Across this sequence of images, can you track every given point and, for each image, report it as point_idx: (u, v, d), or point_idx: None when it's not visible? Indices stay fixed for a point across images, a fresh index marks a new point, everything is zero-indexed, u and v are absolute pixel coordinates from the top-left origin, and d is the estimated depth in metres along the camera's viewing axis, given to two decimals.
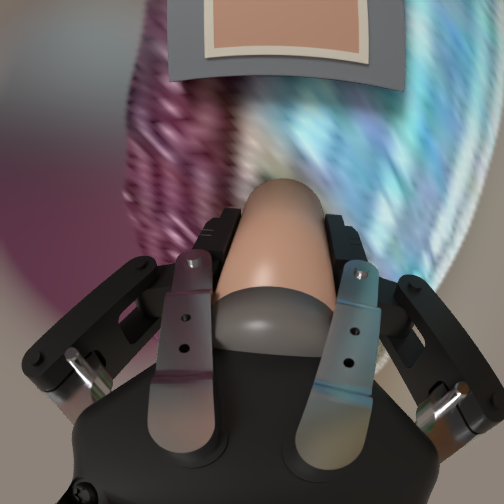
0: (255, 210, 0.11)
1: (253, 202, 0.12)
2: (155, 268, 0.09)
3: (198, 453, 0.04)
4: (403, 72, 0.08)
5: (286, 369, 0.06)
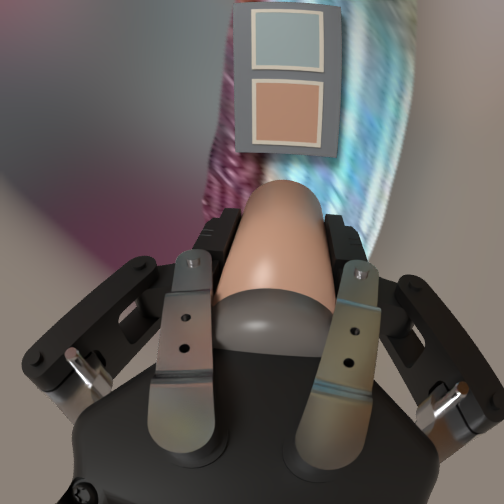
0: (255, 211, 0.11)
1: (253, 203, 0.12)
2: (155, 268, 0.09)
3: (198, 453, 0.04)
4: (336, 149, 0.24)
5: (286, 369, 0.06)
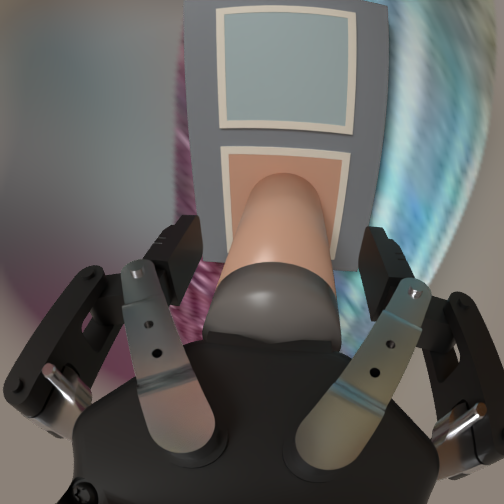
0: (258, 200, 0.12)
1: (256, 194, 0.13)
2: (103, 274, 0.08)
3: (198, 453, 0.04)
4: None
5: (286, 369, 0.06)
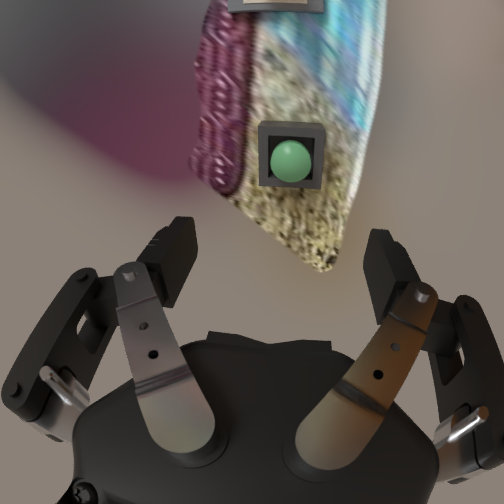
0: None
1: None
2: (96, 276, 0.08)
3: (198, 453, 0.04)
4: (322, 5, 0.18)
5: (286, 369, 0.06)
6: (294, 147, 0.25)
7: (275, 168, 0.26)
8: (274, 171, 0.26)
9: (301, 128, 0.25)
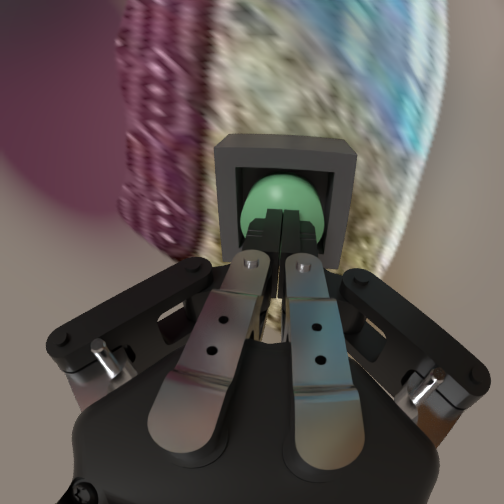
0: None
1: None
2: (209, 274, 0.08)
3: (198, 453, 0.04)
4: None
5: (286, 369, 0.06)
6: (291, 191, 0.12)
7: None
8: None
9: (306, 151, 0.12)
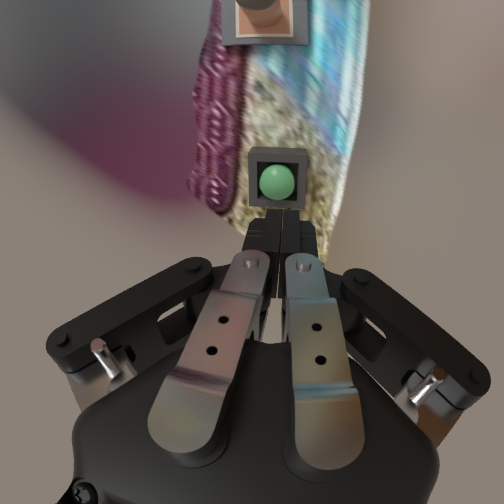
0: None
1: None
2: (209, 274, 0.08)
3: (198, 453, 0.04)
4: (307, 38, 0.23)
5: (286, 369, 0.06)
6: (280, 169, 0.30)
7: (263, 188, 0.31)
8: (263, 190, 0.31)
9: (286, 154, 0.30)
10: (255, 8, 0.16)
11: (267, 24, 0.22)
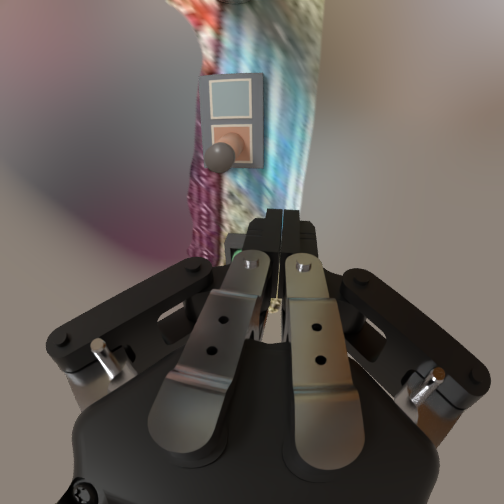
0: None
1: (221, 137, 0.39)
2: (209, 274, 0.08)
3: (198, 453, 0.04)
4: (262, 163, 0.43)
5: (286, 369, 0.06)
6: None
7: None
8: None
9: None
10: None
11: None
